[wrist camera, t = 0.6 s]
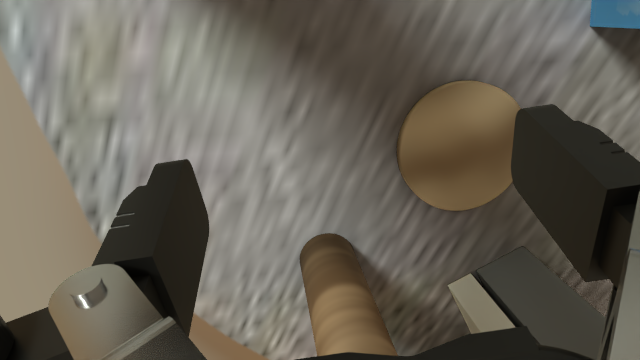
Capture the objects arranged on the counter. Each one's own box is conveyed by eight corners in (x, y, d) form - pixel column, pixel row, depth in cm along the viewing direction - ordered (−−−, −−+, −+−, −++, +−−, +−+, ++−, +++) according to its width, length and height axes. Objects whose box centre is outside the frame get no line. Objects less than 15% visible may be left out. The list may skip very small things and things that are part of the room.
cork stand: (375, 120, 32) (379, 123, 31) (496, 55, 32) (503, 57, 31) (426, 226, 35) (431, 232, 34) (536, 168, 35) (544, 172, 34)
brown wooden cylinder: (289, 250, 34) (312, 396, 21) (339, 223, 34) (392, 355, 21) (315, 291, 36) (351, 452, 23) (362, 266, 36) (426, 413, 23)
